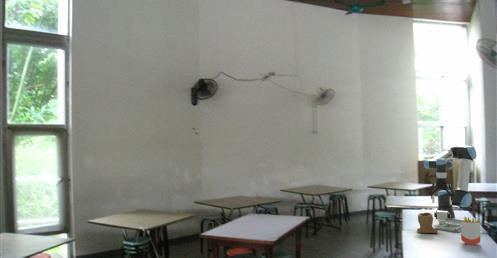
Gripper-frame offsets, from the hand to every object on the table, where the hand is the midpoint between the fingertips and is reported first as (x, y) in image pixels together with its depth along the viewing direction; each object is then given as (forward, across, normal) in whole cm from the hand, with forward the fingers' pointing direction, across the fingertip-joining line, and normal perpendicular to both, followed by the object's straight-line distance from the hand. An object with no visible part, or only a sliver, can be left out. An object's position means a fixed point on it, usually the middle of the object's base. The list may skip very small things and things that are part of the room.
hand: (441, 203), depth 336 cm
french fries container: (+18, +35, -48) cm, 62 cm away
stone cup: (+18, +2, -36) cm, 40 cm away
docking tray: (+17, +11, -12) cm, 23 cm away
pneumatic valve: (+17, 0, 0) cm, 17 cm away
